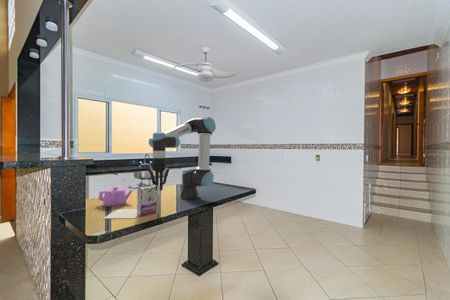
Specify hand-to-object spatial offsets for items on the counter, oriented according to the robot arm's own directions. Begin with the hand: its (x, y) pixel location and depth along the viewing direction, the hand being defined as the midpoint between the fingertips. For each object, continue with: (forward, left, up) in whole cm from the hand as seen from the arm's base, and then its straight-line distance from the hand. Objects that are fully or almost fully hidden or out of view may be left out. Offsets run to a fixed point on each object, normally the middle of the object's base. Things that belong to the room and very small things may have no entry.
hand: (159, 195), depth 138 cm
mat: (+21, 0, -11) cm, 24 cm away
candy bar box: (+8, 0, -11) cm, 14 cm away
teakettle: (+38, -24, -12) cm, 46 cm away
